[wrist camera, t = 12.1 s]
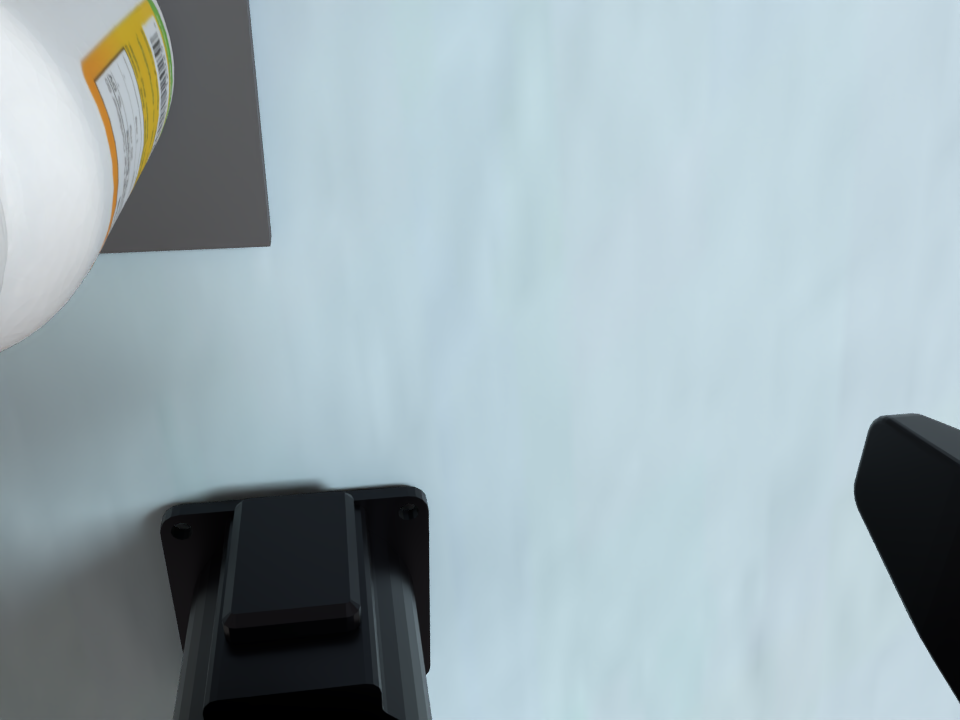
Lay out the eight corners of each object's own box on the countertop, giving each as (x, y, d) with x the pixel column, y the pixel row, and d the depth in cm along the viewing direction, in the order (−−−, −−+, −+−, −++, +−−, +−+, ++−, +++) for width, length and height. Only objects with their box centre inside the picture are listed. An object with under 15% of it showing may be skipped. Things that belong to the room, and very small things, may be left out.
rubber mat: (271, 236, 20) (270, 246, 19) (-136, 251, 18) (-149, 263, 18) (229, -203, 16) (226, -205, 15) (-289, -218, 15) (-312, -221, 14)
